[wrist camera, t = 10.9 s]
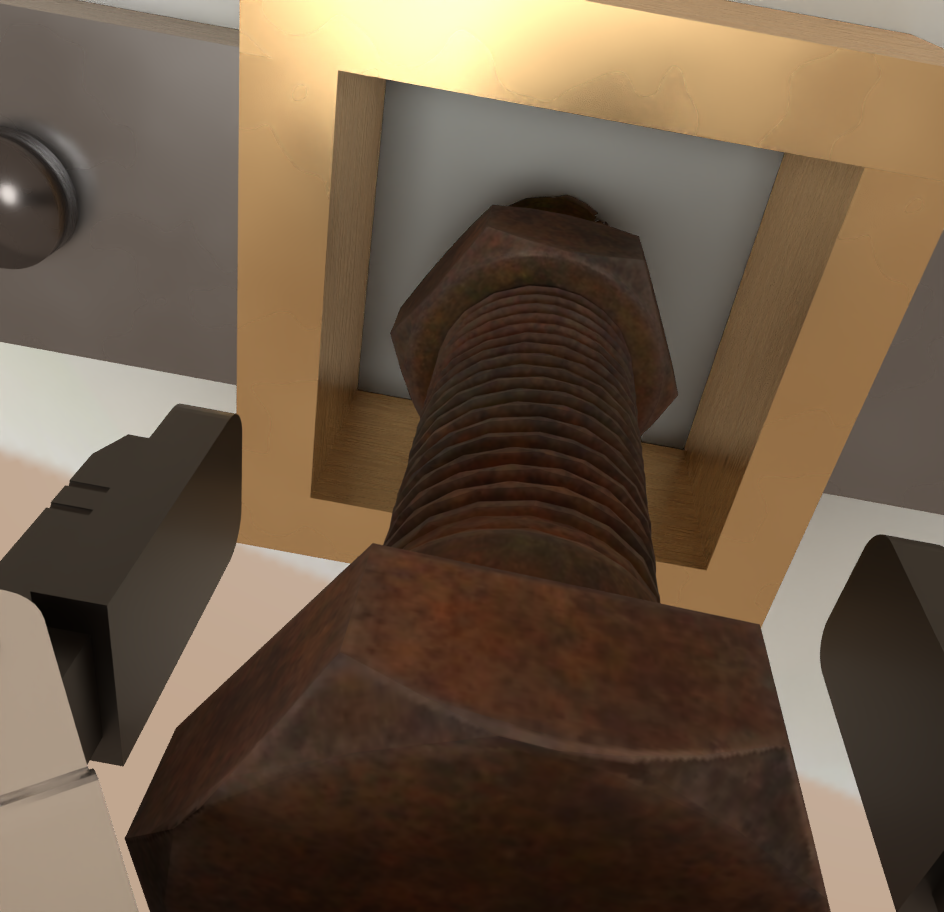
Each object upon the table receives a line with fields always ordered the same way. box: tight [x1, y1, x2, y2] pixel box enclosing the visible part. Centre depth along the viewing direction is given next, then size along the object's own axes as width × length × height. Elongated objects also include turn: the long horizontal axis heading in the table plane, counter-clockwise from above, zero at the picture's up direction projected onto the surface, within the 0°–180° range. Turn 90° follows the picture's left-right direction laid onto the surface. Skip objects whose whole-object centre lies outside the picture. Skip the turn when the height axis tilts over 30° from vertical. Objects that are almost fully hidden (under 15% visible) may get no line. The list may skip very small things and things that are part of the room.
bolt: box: [125, 195, 831, 912], centre depth 13 cm, size 6×5×15 cm
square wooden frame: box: [236, 0, 944, 627], centre depth 17 cm, size 11×11×4 cm
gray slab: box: [0, 0, 239, 385], centre depth 18 cm, size 8×7×2 cm
